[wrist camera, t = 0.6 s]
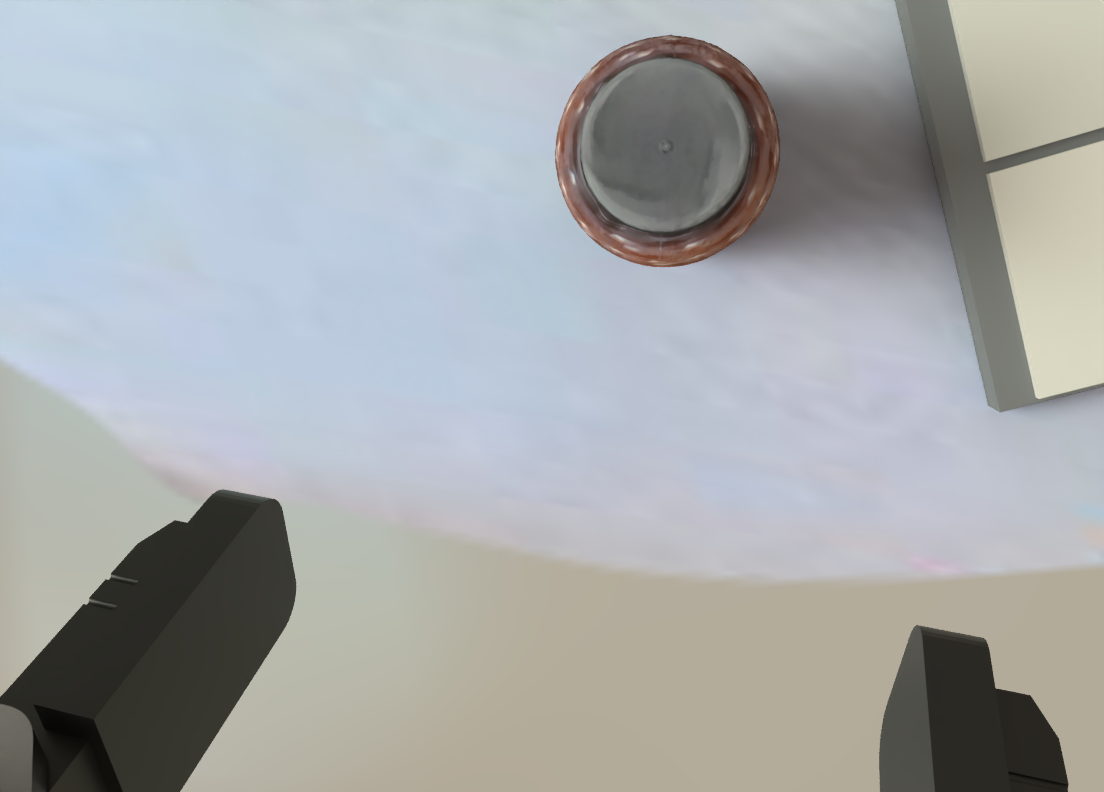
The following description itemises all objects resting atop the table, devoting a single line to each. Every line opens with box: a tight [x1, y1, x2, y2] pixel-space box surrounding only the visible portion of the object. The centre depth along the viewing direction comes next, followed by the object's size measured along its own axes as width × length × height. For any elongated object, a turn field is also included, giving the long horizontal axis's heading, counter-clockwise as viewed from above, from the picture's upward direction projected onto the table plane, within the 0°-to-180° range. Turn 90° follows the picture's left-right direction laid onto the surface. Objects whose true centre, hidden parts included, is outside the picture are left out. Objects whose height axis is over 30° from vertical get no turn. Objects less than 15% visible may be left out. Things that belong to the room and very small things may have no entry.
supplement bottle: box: [555, 35, 780, 267], centre depth 28 cm, size 6×6×11 cm
